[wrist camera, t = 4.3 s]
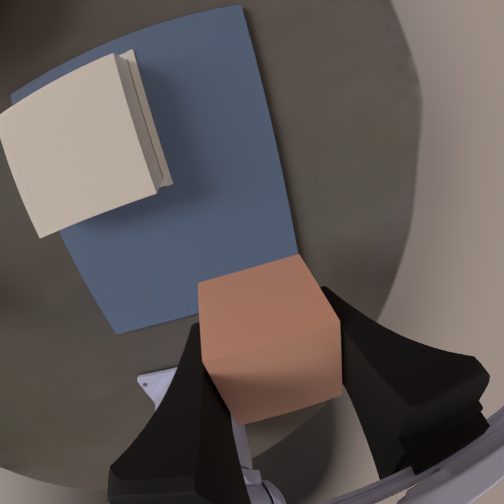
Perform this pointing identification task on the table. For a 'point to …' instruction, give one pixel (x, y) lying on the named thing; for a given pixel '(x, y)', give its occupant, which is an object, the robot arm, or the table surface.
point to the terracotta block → (270, 340)
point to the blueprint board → (186, 173)
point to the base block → (80, 146)
